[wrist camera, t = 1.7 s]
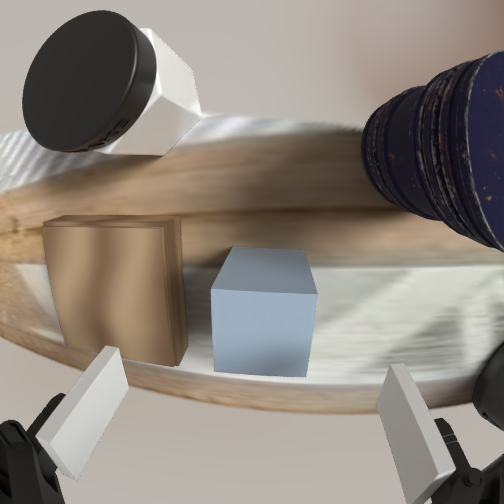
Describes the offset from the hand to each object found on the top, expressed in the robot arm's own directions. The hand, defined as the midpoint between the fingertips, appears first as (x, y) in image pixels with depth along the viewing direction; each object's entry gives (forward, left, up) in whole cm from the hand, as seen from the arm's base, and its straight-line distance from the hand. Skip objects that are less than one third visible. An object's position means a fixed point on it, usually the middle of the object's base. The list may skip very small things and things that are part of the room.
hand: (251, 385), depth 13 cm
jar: (+10, -15, -14) cm, 23 cm away
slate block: (0, 0, -14) cm, 14 cm away
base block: (+14, +1, -14) cm, 19 cm away
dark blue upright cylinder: (-12, -12, -14) cm, 22 cm away
